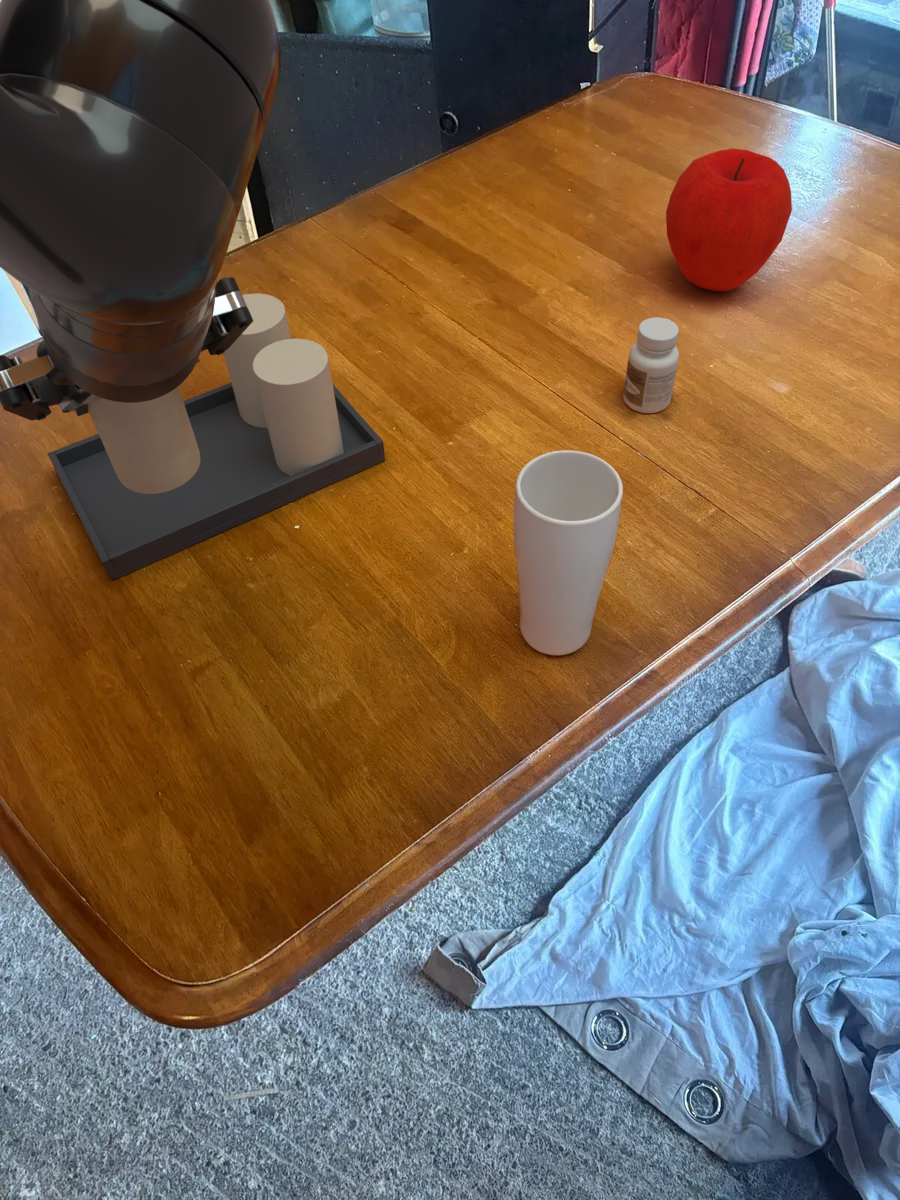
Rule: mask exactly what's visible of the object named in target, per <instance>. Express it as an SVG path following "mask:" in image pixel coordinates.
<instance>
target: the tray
mask: <svg viewBox="0 0 900 1200" xmlns="http://www.w3.org/2000/svg"><path fill="white" fill-rule="evenodd" d="M333 390H334V396H335V402H336V408H337V414H338V420H339V426H340V432H341V438H342V444H343V450H344V453H343V454H341V455H338V456H336V457H334V458H332V459H329V460H327V461H325V462H322V463H320V464H318V465H315V466H313V467H311V468H308V469H306V470H304V471H301V472H299V473H297V474H294V475H292V476H289V475H287V474H285V473H284V472H283V471H281V470H280V468H279V467H278V465H277V463H276V459H275V455H274V451H273V447H272V443H271V439H270V435H269V431H268V428H259V427H255V426H252V425H250V424H248V423H246V422H245V421H244V420H243V419H242V417H241V416H240V413H239V409H238V405H237V402H236V398H235V394H234V391H233V387H232V383H231V382H229V383H227V384H224V385H221V386H218V387H216V388H213V389H211V390H208V391H206V392H202V393H201V394H198V395H195V396H193V397H190V398H188V399H187V398H186V399H185V400H183V402H184V405H185V408H186V411H187V414H188V417H189V420H190V423H191V426H192V430H193V433H194V436H195V439H196V442H197V445H198V449H199V452H200V465H199V468H198V470H197V472H196V473H195V475H194V476H193V477H192V478H191V479H190V480H189V481H187V482H186V483H184V484H183V485H181V486H179V487H177V488H175V489H173V490H170V491H167V492H163V493H157V494H143V493H138V492H134V491H132V490H130V489H128V488H126V487H125V486H124V485H123V484H122V483H121V481H120V480H119V478H118V477H117V474H116V472H115V470H114V468H113V466H112V463H111V461H110V459H109V456H108V454H107V452H106V450H105V447H104V445H103V443H102V440H101V438H100V436H99V433H97V434H93V435H92V436H88V437H86V438H84V439H81V440H78V441H76V442H73V443H70V444H67V445H65V446H62V447H61V448H58V449H55V450H52V451H49V452H47V456H48V458H49V460H50V462H51V464H52V466H53V468H54V470H55V472H56V474H57V476H58V478H59V480H60V482H61V483H62V485H63V487H64V490H65V491H66V493H67V496H68V497H69V499H70V502H71V503H72V505H73V507H74V510H75V511H76V513H77V516H78V517H79V519H80V521H81V523H82V525H83V527H84V530H85V531H86V533H87V535H88V538H89V539H90V542H91V543H92V545H93V547H94V548H95V551H96V553H97V555H98V557H99V559H100V561H101V563H102V565H103V566H104V568H105V571H106V573H107V575H108V576H109V578H110V580H111V581H114V580H117V579H119V578H122V577H124V576H126V575H128V574H131V573H133V572H135V571H137V570H140V569H142V568H144V567H147V566H149V565H151V564H153V563H156V562H158V561H160V560H163V559H164V558H167V557H170V556H171V555H174V554H176V553H179V552H180V551H183V550H185V549H187V548H191V547H193V546H194V545H196V544H199V543H201V542H203V541H206V540H207V539H210V538H212V537H215V536H217V535H219V534H221V533H224V532H226V531H229V530H231V529H233V528H235V527H238V526H240V525H242V524H245V523H247V522H249V521H251V520H254V519H255V518H258V517H260V516H262V515H265V514H267V513H269V512H271V511H274V510H276V509H278V508H281V507H283V506H285V505H288V504H289V503H292V502H294V501H296V500H299V499H302V498H303V497H306V496H308V495H311V494H312V493H315V492H317V491H319V490H322V489H324V488H326V487H329V486H331V485H334V484H336V483H337V482H340V481H342V480H344V479H347V478H349V477H351V476H354V475H356V474H358V473H360V472H363V471H365V470H367V469H370V468H372V467H374V466H377V465H379V464H381V463H384V462H385V461H386V455H385V454H386V453H385V452H386V451H385V445H384V440H383V439H382V438H381V437H380V436H379V435H378V433H376V431H375V430H374V429H373V428H372V427H371V426H370V424H369V423H368V422H367V421H366V420H365V418H363V416H362V415H361V414H360V413H359V412H358V411H357V409H356V408H355V407H353V405H352V404H351V403H350V402H349V401H348V399H347V398H346V397H345V396H344V394H342V393H341V392H340V391H339V389H338V388H337V387H336V386H335V384H333Z"/></svg>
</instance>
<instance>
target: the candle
mask: <svg viewBox="0 0 900 1200" xmlns="http://www.w3.org/2000/svg"><path fill="white" fill-rule="evenodd" d="M183 401H184V400H183V395H182V394H181V390H180V387H179V386H178V387H177V388H175V389H174V390H172V391H171V392H169V393H167V394H165V395H164V396H161V397H159V398H156V399H153V400H149V401H144V402H135V403H124V402H116V401H111V400H107V399H103V398H102V399H101V400H99V401H95V402H92V403H88V404H87V405H88V411H89V413H88V414H89V415H90V417H91V419H92V421H93V424H94V426H95V429H96V431H97V434H99V436H100V438H101V440H102V443H103V445H104V447H105V450H106V452H107V454H108V456H109V459H110V461H111V463H112V466H113V468H114V470H115V472H116V474H117V477H118V478H119V480H120V481H121V483H122V484H123V485H124V486H125V487H126V488H128V489H130V490H132V491H134V492H138V493H143V494H157V493H163V492H167V491H170V490H173V489H175V488H177V487H179V486H181V485H183V484H184V483H186V482H187V481H189V480H190V479H191V478H192V477H193V476H194V475H195V473H196V472H197V470H198V468H199V465H200V452H199V449H198V445H197V442H196V439H195V436H194V433H193V430H192V426H191V423H190V420H189V417H188V414H187V411H186V408H185V405H184V402H183Z"/></svg>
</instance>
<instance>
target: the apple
mask: <svg viewBox="0 0 900 1200" xmlns="http://www.w3.org/2000/svg"><path fill="white" fill-rule="evenodd" d="M792 202H793V201H792V189H791V185H790V181H789V179H788V176H787V174H786V172H785V169H784V168H783V167H782V166H781V165H780V164H779V163H778V162H777V161H776V160H775V159H773V158H771V157H769V156H766V155H763V154H760V153H757V152H754V151H751V150H748V149H742V148H741V149H740V148H727V149H726V148H725V149H721V150H717V151H714V152H711V153H708V154H705V155H702V156H700V157H697V158H695V159H693V160H692V161H691V162H690V164H689V165H688V166H687V167H686V168H685V170H683V172H682V173H681V174H680V175H679V176H678V179H677V181H676V183H675V185H674V187H673V190H672V192H671V194H670V196H669V200H668V204H667V207H666V210H665V211H666V212H665V218H666V219H665V223H666V225H665V226H666V237H667V240H668V244H669V247H670V250H671V253H672V254H673V256H674V259H675V261H676V263H677V265H678V267H679V270H680V271H681V273H682V274H683V275H684V277H685V278H686V280H687V281H689V282H690V283H691V284H693V285H695V286H697V287H699V288H701V289H704V290H709V291H711V292H712V291H713V292H729V291H731V290H733V289H735V288H738V287H740V286H742V285H743V284H745V282H747V281H749V280H750V279H751V278H752V277H753V276H755V275H756V274H757V273H758V272H759V271H760V270H761V269H762V268H763V267H764V265H765V264H766V263H767V262H768V260H769V259H770V258H771V256H772V255H773V253H774V252H775V250H776V249H777V248H778V246H779V245H780V244H781V242H782V241H783V237H784V235H785V232H786V229H787V226H788V223H789V220H790V217H791V214H792V212H793V204H792Z"/></svg>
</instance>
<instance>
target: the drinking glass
mask: <svg viewBox="0 0 900 1200" xmlns="http://www.w3.org/2000/svg"><path fill="white" fill-rule="evenodd" d="M623 494H624V485H623V481H622V479H621V476H620V475H619V473H618V472H617V470H616V469H615V468H614V467H613V466H612V465H611V464H610V463H608V462H607V461H606V460H604V459H603V458H601V457H598V456H597V455H595V454H592V453H588V452H585V451H581V450H580V451H579V450H574V449H573V450H570V449H563V450H562V449H561V450H554V451H549V452H546V453H543V454H540V455H538V456H536V457H534V458H533V459H531V460H530V461H528V462H527V463H526V464H525V465H523V467H522V468H521V470H520V471H519V473H518V475H517V477H516V482H515V492H514V500H513V501H514V502H513V515H512V516H513V519H512V521H513V522H512V523H513V526H512V527H513V529H512V531H513V542H514V543H513V544H514V545H513V546H514V555H515V567H516V577H517V590H518V599H519V600H518V601H519V629H520V633H521V635H522V638H523V639H524V640H525V642H526V643H527V644H528V645H529V646H530V647H531V648H532V649H534V650H535V651H537V652H539V653H541V654H545V655H548V656H566V655H569V654H572V653H575V652H576V651H578V650H580V649H581V648H582V647H583V646H584V645H585V644H586V643H587V642H588V640H589V639H590V636H591V634H592V629H593V624H594V618H595V614H596V610H597V607H598V604H599V601H600V596H601V594H602V590H603V587H604V583H605V580H606V577H607V573H608V569H609V566H610V563H611V559H612V556H613V554H614V549H615V546H616V542H617V538H618V532H619V528H620V523H621V514H622V505H623Z"/></svg>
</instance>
